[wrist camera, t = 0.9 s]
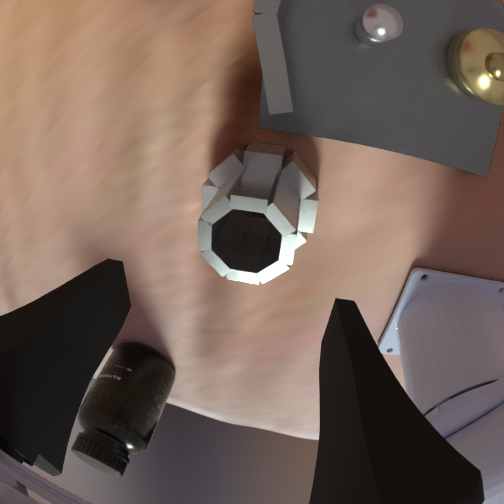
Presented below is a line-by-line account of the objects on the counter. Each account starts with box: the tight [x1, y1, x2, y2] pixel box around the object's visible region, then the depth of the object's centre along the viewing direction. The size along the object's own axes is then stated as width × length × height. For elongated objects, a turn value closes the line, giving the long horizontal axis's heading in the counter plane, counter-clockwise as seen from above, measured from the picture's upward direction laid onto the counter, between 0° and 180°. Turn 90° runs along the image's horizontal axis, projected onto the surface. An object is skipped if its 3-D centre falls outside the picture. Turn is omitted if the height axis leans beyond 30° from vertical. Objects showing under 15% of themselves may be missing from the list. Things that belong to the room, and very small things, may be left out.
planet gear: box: [198, 142, 319, 284], centre depth 16 cm, size 6×6×6 cm
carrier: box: [252, 0, 504, 177], centre depth 11 cm, size 13×10×4 cm
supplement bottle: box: [71, 343, 175, 477], centre depth 25 cm, size 7×7×12 cm
